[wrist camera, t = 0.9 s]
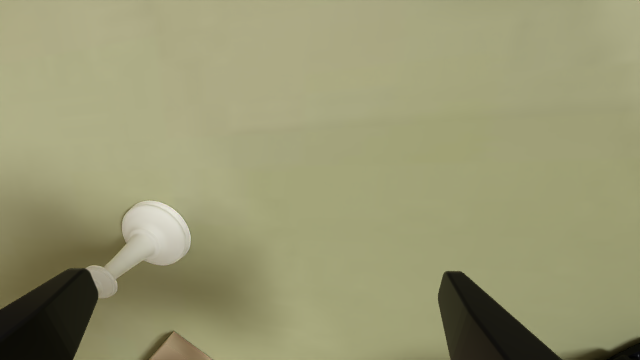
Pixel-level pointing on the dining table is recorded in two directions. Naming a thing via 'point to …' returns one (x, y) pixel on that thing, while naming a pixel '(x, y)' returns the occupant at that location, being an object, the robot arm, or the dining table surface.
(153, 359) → the pedestal
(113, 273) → the chess piece
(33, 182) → the dining table surface
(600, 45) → the dining table surface
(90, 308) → the robot arm
